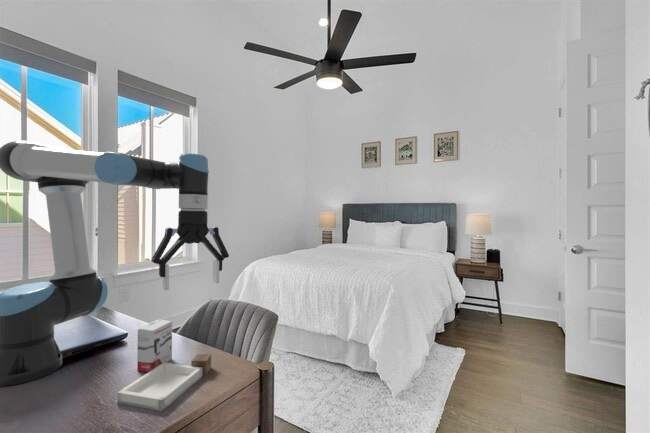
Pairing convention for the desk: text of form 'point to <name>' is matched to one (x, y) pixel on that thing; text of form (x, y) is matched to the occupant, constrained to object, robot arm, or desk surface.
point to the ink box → (154, 345)
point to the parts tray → (160, 386)
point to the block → (202, 362)
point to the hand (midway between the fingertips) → (192, 285)
